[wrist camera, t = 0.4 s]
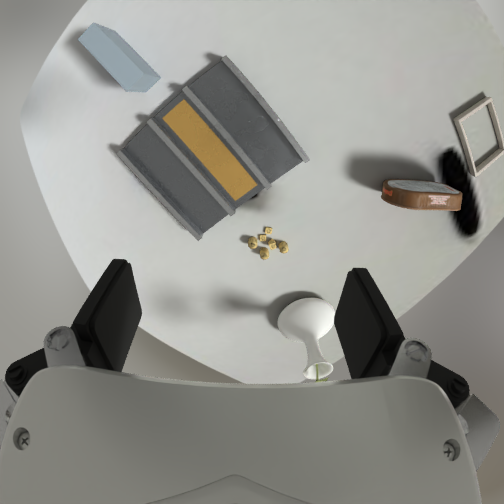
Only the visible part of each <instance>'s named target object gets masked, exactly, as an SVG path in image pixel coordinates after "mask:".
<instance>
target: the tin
mask: <svg viewBox="0 0 504 504" xmlns="http://www.w3.org/2000/svg"><path fill="white" fill-rule="evenodd" d="M381 198H382V199H383V200H384V201H386V202H387V203H390V204H392V205H395V206H398V207H402V208H407V209H414V210H450V211H457V210H460V209H461V201H462V193H461V192H460V191H457V190H456V189H453V188H451V187H450V186H448V185H445V184H442V183H437V182H431V181H421V180H407V179H388V180H385V181H384V182H383V188H382V195H381Z"/></svg>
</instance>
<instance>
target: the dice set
mask: <svg viewBox="0 0 504 504" xmlns="http://www.w3.org/2000/svg"><path fill="white" fill-rule="evenodd" d="M271 233H272V228H271V227H266V229H265V234H264V235H260V241H266V234H271ZM268 244H269V246H270V249H271V250H272V249H275V248H277V247H276V241H275V240H273V239H271V240H270V241H269V242H268ZM248 247H250V248H251V249H255V248H256V247H257V239H256V238H255V237H250V238H249V239H248ZM279 249H280V252H281V253H287V251H288V245H287V243H286V242H285V241H283V242H280V243H279ZM260 257H261V258H262V259H263V260H264V259H268V257H269V251H268V249H267V248H261V250H260Z"/></svg>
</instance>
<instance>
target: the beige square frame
mask: <svg viewBox="0 0 504 504" xmlns="http://www.w3.org/2000/svg"><path fill="white" fill-rule="evenodd" d="M485 105H487V106H488V109H489V112H490V115H491V118H492V121H493V125H494V128H495V132H496V136H497V140H498V144H499V149H498V150H496V151H495V152H494V153H493V154H492V155H490V156H489V157H488V158H487V159H486V160H484V161H483V162H482V163H481V164H480V165H478V166H477V167H476V168H475V164H474V160H473V156H472V153H471V149H470V146H469V143H468V140H467V136H466V133H465V130H464V128H463V125H462V121H464V120H465V119H467V118H468V117H470V116H471V115H472V114H474V113H475V112H477V111H478V110H480V109H481V108H482V107H484V106H485ZM453 120H454V122H455V125H456V128H457V131H458V133H459V136H460V139H461V142H462V145H463V149H464V152H465V155H466V158H467V162H468V166H469V169H470V173H471V175H473V176H474V177H477V176H478V175H479V174H480V173H481V172H483V171H484V170H485V169H486V168H487V167H489V166H490V165H491V164H492V163H493V162H494V161H496V160H497V159H498V158H499V157H500V156H501V155H502V154H504V140H503V136H502V132H501V128H500V124H499V120H498V117H497V114H496V110H495V107H494V104H493V101H492V98H491V97H485V98H484V99H482V100H481V101H479V102H478V103H476V104H475V105H473V106H472V107H470V108H469V109H467V110H466V111H464V112H463V113H461V114H460V115H458V116H457V117H455V118H454V119H453Z"/></svg>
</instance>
